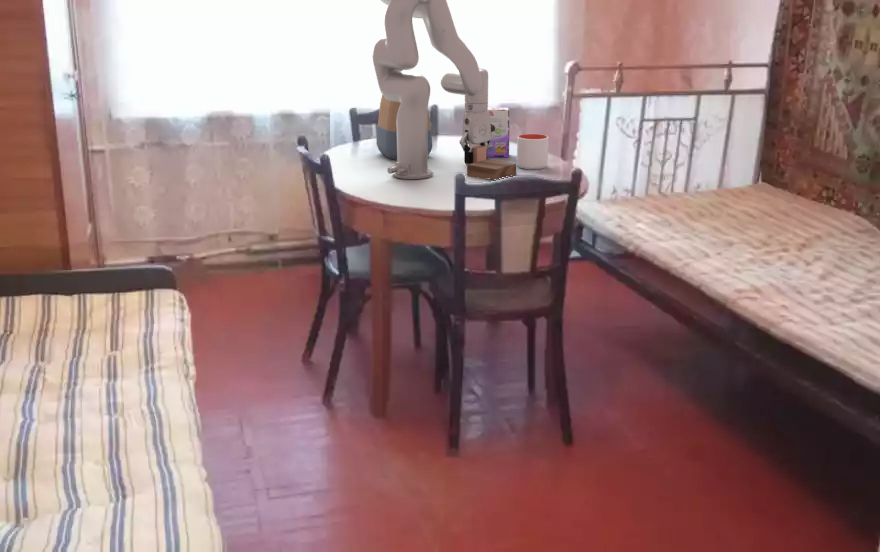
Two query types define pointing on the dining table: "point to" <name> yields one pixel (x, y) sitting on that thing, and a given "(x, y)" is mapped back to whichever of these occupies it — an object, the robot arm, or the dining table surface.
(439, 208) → the dining table surface
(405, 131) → the robot arm
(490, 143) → the candy box
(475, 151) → the brick
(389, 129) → the tan two-tone rounded container
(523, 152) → the cup
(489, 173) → the plinth
